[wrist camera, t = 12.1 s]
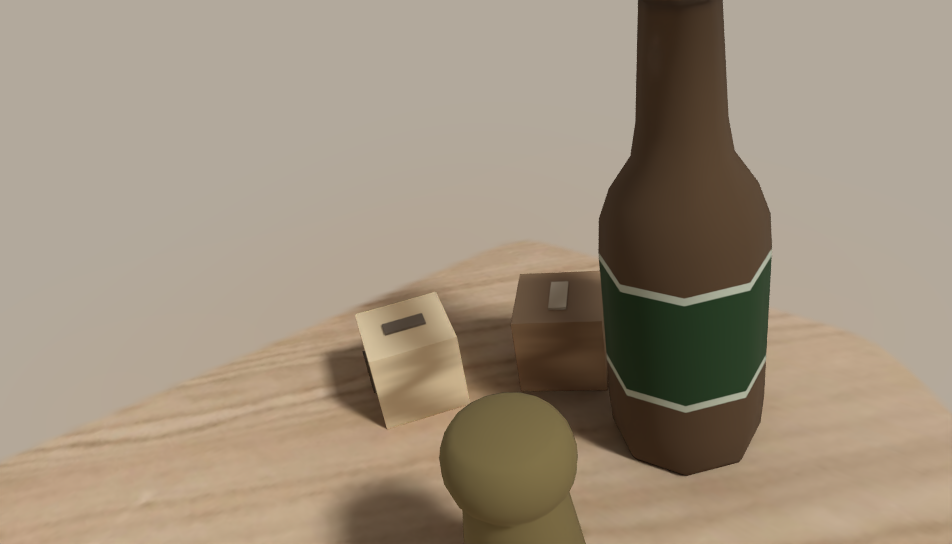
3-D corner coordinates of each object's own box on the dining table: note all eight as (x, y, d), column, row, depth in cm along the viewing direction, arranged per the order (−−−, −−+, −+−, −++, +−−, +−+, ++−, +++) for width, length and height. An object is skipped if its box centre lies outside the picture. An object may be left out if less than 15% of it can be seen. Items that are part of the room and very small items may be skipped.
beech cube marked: (384, 431, 47) (365, 361, 44) (370, 379, 51) (351, 313, 48) (470, 405, 48) (456, 334, 45) (449, 356, 52) (435, 289, 49)
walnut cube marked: (518, 392, 48) (507, 321, 45) (526, 339, 52) (517, 272, 50) (607, 391, 47) (601, 318, 44) (608, 337, 51) (603, 268, 49)
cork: (450, 576, 38) (404, 397, 32) (571, 532, 39) (548, 352, 33) (491, 694, 33) (446, 508, 27) (628, 640, 34) (613, 450, 28)
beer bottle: (615, 376, 48) (584, -54, 35) (755, 378, 46) (777, -75, 33) (607, 476, 42) (566, -3, 29) (769, 483, 40) (801, -26, 27)
